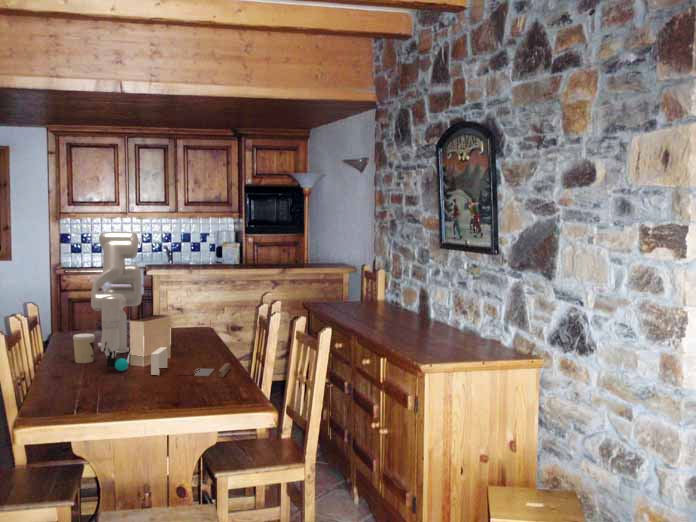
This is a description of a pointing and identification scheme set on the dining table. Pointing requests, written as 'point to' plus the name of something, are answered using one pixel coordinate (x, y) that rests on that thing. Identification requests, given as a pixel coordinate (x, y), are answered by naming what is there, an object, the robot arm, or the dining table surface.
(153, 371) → the bridge
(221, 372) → the stopper wall
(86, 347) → the coffee cup
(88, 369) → the dining table surface
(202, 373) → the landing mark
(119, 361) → the ball
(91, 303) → the robot arm
